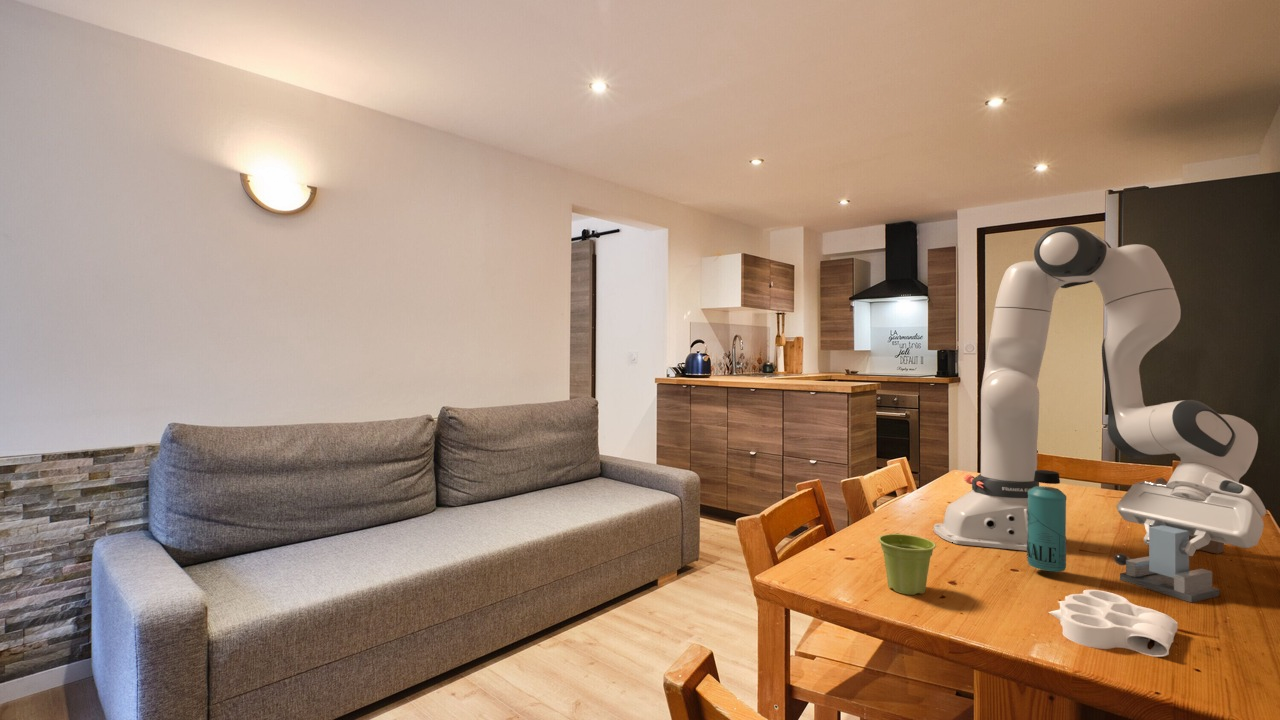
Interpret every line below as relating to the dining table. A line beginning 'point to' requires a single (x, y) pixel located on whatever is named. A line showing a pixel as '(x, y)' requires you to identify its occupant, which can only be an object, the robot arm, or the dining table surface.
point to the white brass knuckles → (1114, 623)
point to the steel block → (1167, 550)
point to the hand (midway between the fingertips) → (1166, 548)
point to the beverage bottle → (1046, 524)
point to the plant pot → (906, 562)
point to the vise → (1178, 584)
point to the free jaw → (1134, 565)
